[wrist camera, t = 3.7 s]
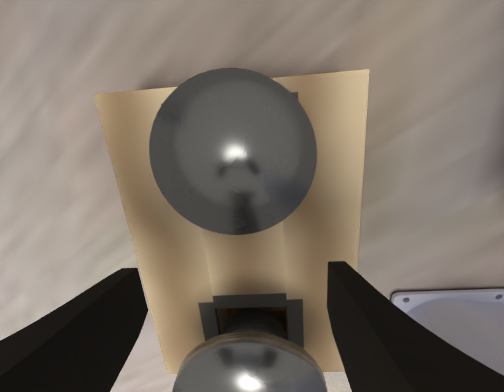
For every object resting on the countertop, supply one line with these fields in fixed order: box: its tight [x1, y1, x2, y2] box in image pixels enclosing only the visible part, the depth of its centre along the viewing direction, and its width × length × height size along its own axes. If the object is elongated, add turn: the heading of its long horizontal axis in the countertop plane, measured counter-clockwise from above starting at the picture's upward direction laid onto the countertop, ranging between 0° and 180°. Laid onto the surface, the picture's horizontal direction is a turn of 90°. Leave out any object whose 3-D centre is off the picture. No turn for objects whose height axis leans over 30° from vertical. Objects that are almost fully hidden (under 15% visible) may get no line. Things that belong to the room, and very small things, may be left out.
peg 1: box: [149, 68, 317, 235], centre depth 15 cm, size 8×8×5 cm
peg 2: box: [172, 309, 327, 392], centre depth 16 cm, size 8×8×5 cm
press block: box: [94, 69, 369, 374], centre depth 18 cm, size 13×19×5 cm
